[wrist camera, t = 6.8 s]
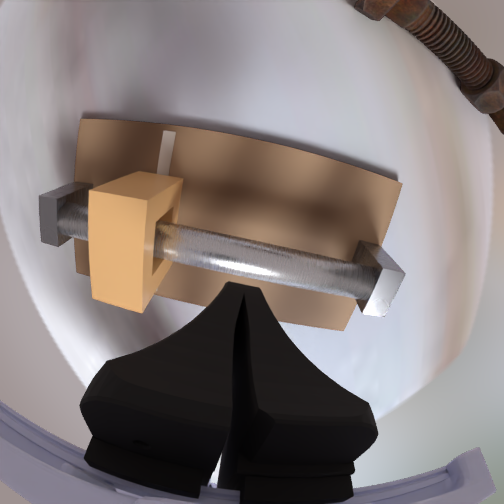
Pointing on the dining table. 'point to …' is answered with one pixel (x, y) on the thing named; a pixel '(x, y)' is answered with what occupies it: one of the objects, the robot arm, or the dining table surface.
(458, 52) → the bolt
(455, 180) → the dining table surface
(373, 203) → the board
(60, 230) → the rail
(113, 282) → the collar
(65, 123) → the dining table surface
